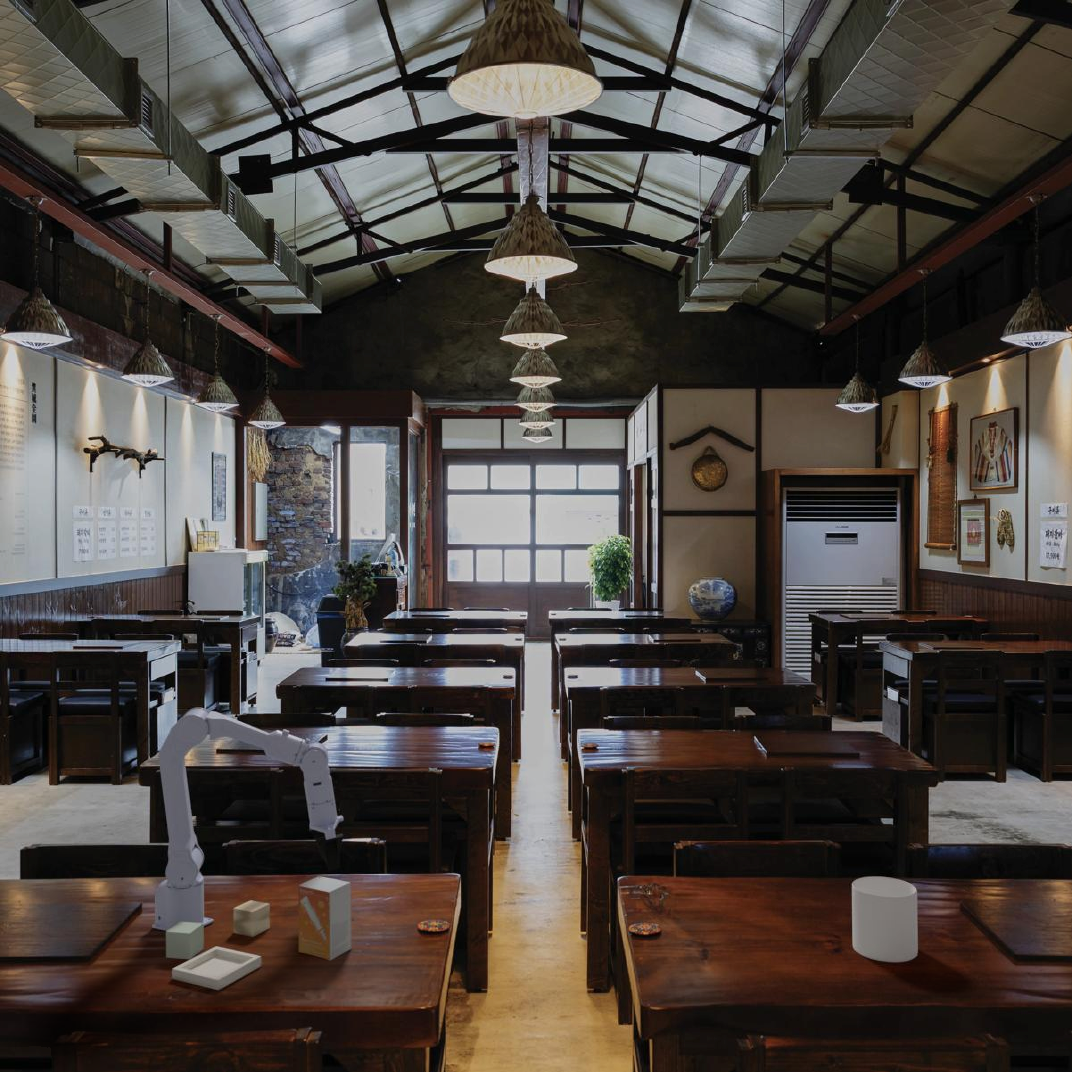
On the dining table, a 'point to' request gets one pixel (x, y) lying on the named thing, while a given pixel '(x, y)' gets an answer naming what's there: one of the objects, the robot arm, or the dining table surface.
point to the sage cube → (184, 940)
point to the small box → (324, 917)
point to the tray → (216, 968)
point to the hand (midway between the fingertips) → (330, 863)
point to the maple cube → (251, 918)
